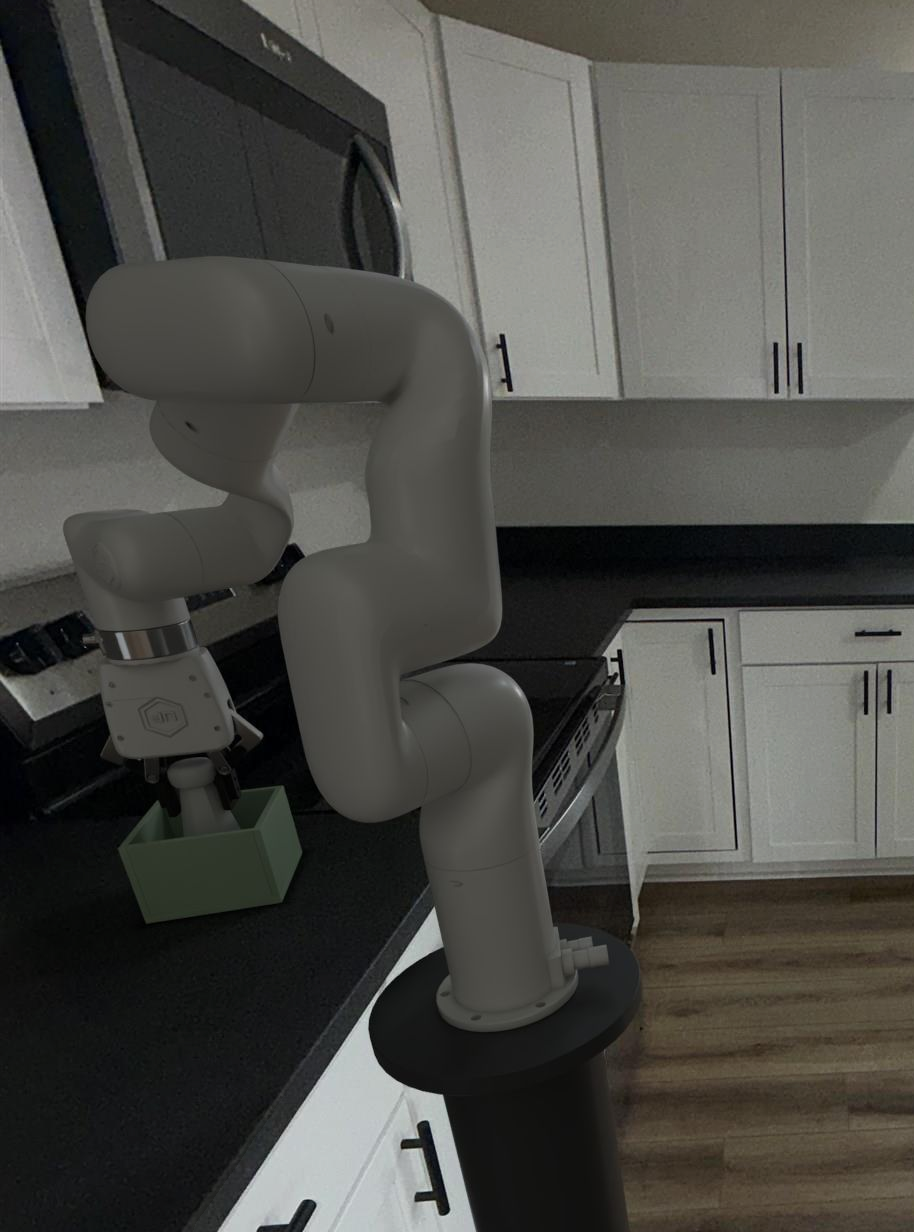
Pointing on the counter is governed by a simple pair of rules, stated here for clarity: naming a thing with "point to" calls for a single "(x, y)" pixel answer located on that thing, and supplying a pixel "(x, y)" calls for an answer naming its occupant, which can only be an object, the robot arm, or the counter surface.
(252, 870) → the bin
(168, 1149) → the counter surface
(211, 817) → the salt shaker
